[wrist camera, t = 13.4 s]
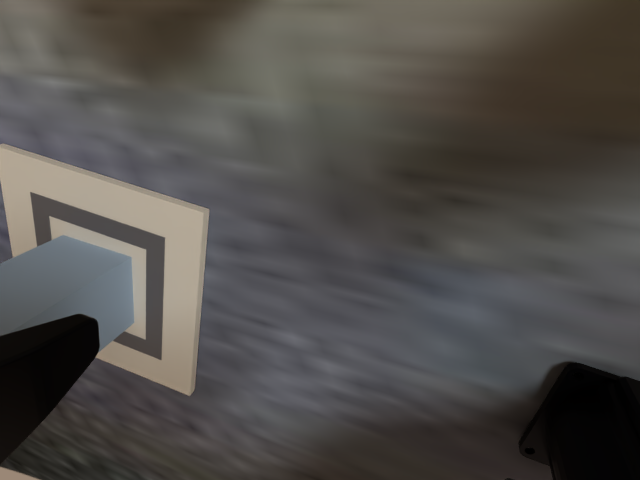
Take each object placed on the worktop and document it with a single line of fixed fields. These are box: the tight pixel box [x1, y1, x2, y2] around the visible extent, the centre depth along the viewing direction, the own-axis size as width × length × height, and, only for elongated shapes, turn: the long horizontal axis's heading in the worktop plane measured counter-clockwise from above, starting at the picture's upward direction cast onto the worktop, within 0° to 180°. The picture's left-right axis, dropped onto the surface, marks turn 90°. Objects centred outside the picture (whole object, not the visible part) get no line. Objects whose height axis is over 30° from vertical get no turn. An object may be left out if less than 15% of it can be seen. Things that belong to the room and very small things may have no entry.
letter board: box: [0, 144, 209, 396], centre depth 27 cm, size 14×14×1 cm
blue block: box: [0, 235, 134, 352], centre depth 22 cm, size 5×5×10 cm
